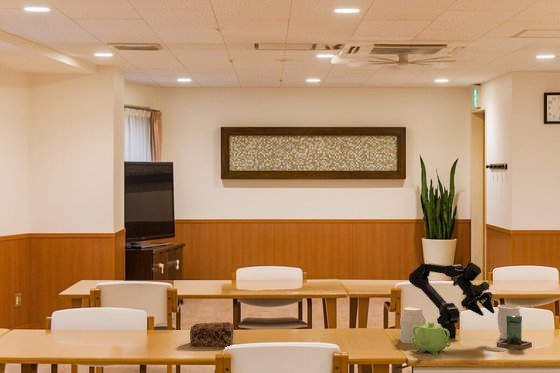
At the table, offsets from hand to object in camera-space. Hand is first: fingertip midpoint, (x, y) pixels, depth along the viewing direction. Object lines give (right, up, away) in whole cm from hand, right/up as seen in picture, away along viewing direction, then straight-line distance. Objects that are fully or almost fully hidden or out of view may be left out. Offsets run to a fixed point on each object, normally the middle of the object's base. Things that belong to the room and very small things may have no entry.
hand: (488, 314), depth 364 cm
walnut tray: (+10, -14, -6) cm, 18 cm away
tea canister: (+10, -12, -6) cm, 17 cm away
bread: (-124, -14, -1) cm, 125 cm away
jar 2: (+13, -14, +14) cm, 24 cm away
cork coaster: (0, -14, -13) cm, 19 cm away
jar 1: (-33, -14, +7) cm, 36 cm away
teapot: (-29, -14, -16) cm, 36 cm away
